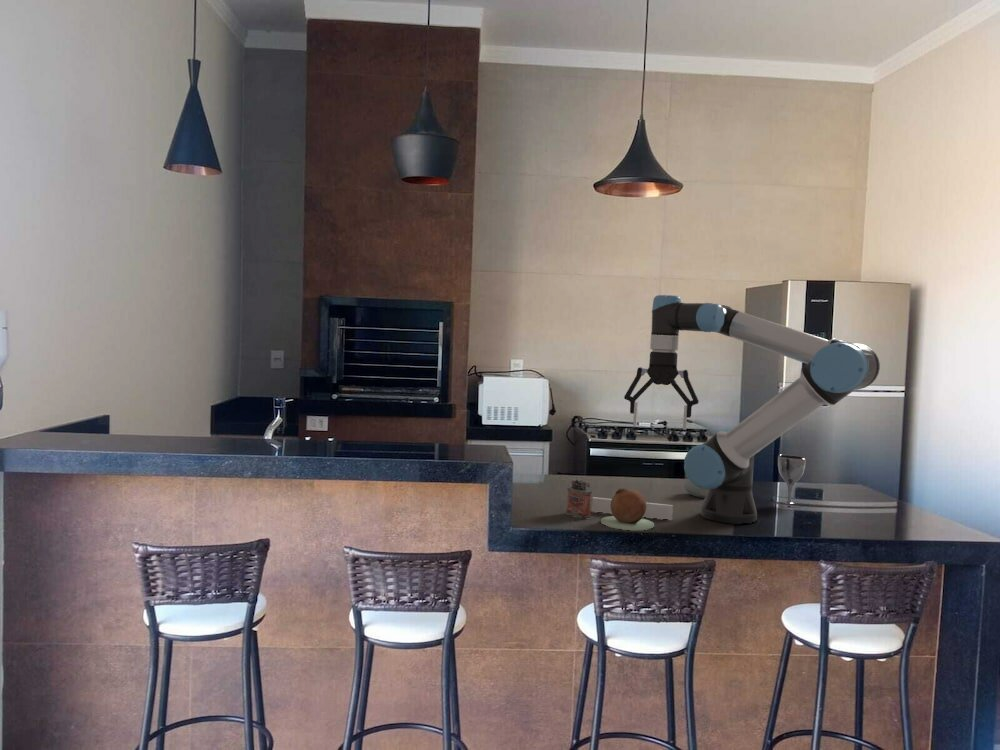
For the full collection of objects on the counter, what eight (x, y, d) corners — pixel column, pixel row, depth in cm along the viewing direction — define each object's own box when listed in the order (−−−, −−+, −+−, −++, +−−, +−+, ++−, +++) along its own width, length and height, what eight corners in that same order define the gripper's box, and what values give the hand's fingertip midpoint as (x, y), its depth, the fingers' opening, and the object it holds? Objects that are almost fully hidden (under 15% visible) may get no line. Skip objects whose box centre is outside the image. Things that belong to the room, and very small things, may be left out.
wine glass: (803, 509, 237) (806, 459, 236) (775, 506, 239) (778, 457, 238) (802, 503, 244) (805, 455, 243) (775, 500, 247) (778, 453, 246)
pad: (656, 520, 214) (656, 519, 214) (651, 533, 201) (651, 531, 201) (604, 515, 218) (605, 513, 218) (597, 527, 205) (597, 525, 205)
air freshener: (708, 492, 256) (709, 462, 255) (724, 498, 248) (726, 466, 247) (679, 493, 252) (681, 462, 251) (694, 499, 244) (696, 467, 243)
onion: (612, 532, 210) (597, 497, 210) (635, 518, 215) (620, 484, 216) (637, 527, 202) (621, 491, 203) (659, 513, 208) (644, 478, 209)
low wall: (672, 519, 217) (672, 505, 216) (671, 520, 215) (672, 506, 215) (592, 511, 223) (593, 497, 222) (591, 512, 221) (592, 497, 221)
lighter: (563, 513, 218) (565, 477, 217) (572, 512, 220) (573, 476, 220) (584, 519, 212) (586, 483, 211) (593, 518, 214) (594, 482, 214)
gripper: (710, 353, 219) (705, 429, 220) (620, 348, 225) (616, 422, 227) (710, 353, 211) (705, 432, 213) (617, 349, 218) (613, 425, 219)
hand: (659, 427), depth 220 cm, fingers open, 13 cm apart
